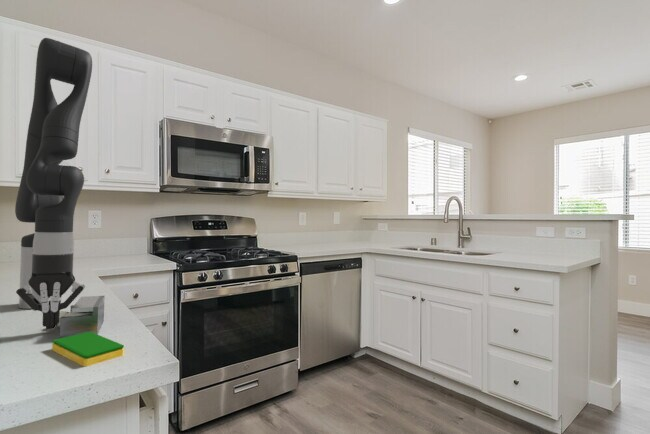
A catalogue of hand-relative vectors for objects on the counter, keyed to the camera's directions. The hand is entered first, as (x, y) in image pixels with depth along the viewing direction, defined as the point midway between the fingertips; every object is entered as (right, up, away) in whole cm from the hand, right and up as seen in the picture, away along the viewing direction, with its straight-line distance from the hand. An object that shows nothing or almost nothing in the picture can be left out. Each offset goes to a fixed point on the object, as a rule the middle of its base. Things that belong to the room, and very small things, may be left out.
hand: (50, 327), depth 83 cm
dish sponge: (+15, -2, -11) cm, 19 cm away
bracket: (+5, -1, +3) cm, 6 cm away
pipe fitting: (+3, -2, +3) cm, 4 cm away
